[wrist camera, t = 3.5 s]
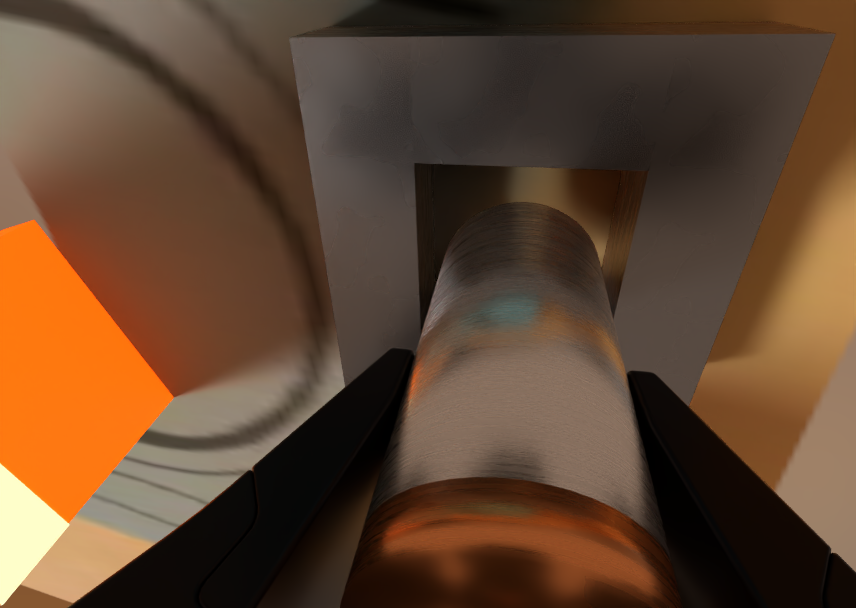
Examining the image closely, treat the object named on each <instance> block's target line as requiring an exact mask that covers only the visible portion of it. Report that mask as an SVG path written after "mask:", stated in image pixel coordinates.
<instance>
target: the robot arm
mask: <svg viewBox="0 0 856 608" xmlns="http://www.w3.org/2000/svg"><path fill="white" fill-rule="evenodd" d="M414 356H415V355H414V352H413V351H412V350H411V349H404V348H391V349H389V350H388V351H387V352H385V353H384V354H383V355H382V356H381V357H380V358H379V359H377V360H376V361H375V362H374V363H373V364H372V365H370V366H369V367H368V368H367V369H366V370H365V371H363V372H362V373H361V374H360V375H359V376H358V377H356V378H355V379H354V380H353V381H352V382H351V383H349V384H348V385H347V386H346V387H345V388H344V389H342V390H341V391H340V392H339V393H338V394H337V395H335V396H334V397H333V398H332V399H331V400H330V401H329V402H327V403H326V404H325V405H324V406H323V407H322V408H320V409H319V410H318V411H317V412H316V413H315V414H313V415H312V416H311V417H310V418H309V419H308V420H306V421H305V422H304V423H303V424H302V425H301V426H299V427H298V428H297V429H296V430H295V431H294V432H292V433H291V434H290V435H289V436H288V437H287V438H285V439H284V440H283V441H282V442H281V443H280V444H279V445H277V446H276V447H275V448H274V449H273V450H272V451H270V452H269V453H268V454H267V455H266V456H265V457H263V458H262V459H261V460H260V461H259V462H258V463H256V464H255V465H254V466H253V467H252V471H251V470H248V471H247V472H246V473H245V474H243V475H242V476H241V477H240V478H239V479H238V480H236V481H235V482H234V483H233V484H232V485H231V486H229V487H228V488H227V489H226V490H225V491H223V492H222V493H221V494H220V495H218V496H217V497H216V498H215V499H214V500H212V501H211V502H210V503H209V504H207V505H206V506H205V507H204V508H203V509H201V510H200V511H199V512H198V513H196V514H195V515H194V516H192V517H191V518H190V519H188V520H187V521H186V522H184V523H183V524H182V525H180V526H179V527H178V528H176V529H175V530H174V531H172V532H171V533H170V534H168V535H167V536H166V537H164V538H163V539H162V540H160V541H159V542H157V543H156V544H155V545H153V546H152V547H150V548H149V549H148V550H146V551H145V552H144V553H142V554H141V555H139V556H138V557H137V558H135V559H134V560H132V561H131V562H130V563H128V564H127V565H126V566H124V567H123V568H121V569H120V570H119V571H117V572H116V573H114V574H113V575H112V576H110V577H109V578H108V579H106V580H105V581H103V582H102V583H101V584H99V585H98V586H97V587H95V588H94V589H92V590H91V591H90V592H88V593H87V594H85V595H84V596H83V597H81V598H80V599H79V600H77V601H76V602H74V603H73V604H71V605H70V606H68V607H67V608H340V603H341V599H342V596H343V593H344V589H345V586H346V583H347V579H348V576H349V573H350V569H351V566H352V563H353V559H354V556H355V553H356V549H357V546H358V543H359V539H360V536H361V533H362V529H363V526H364V523H365V519H366V516H367V513H368V509H369V506H370V503H371V499H372V496H373V493H374V489H375V486H376V483H377V480H378V476H379V473H380V470H381V466H382V463H383V460H384V456H385V453H386V450H387V446H388V443H389V440H390V436H391V433H392V430H393V426H394V423H395V420H396V416H397V413H398V410H399V406H400V403H401V400H402V396H403V393H404V390H405V386H406V383H407V380H408V376H409V373H410V370H411V366H412V363H413V360H414ZM627 379H628V383H629V387H630V391H631V395H632V399H633V404H634V408H635V412H636V416H637V420H638V424H639V428H640V433H641V437H642V441H643V445H644V449H645V453H646V458H647V462H648V466H649V470H650V474H651V478H652V483H653V487H654V491H655V495H656V499H657V503H658V507H659V512H660V516H661V520H662V524H663V528H664V532H665V537H666V541H667V545H668V549H669V553H670V557H671V562H672V566H673V570H674V574H675V578H676V582H677V587H678V591H679V595H680V599H681V603H682V607H683V608H856V572H855V571H854V570H853V569H852V568H851V567H850V566H849V565H848V564H847V563H846V562H845V561H844V560H843V559H842V558H841V557H840V556H839V555H838V554H836V553H831V548H830V547H829V546H828V545H827V544H826V543H825V542H824V541H823V540H822V539H821V538H820V537H819V536H818V535H817V534H816V533H815V532H814V531H813V530H812V529H811V528H810V527H809V526H808V525H807V524H806V523H805V522H804V521H803V520H802V519H801V518H800V517H799V516H798V515H797V514H796V513H795V512H794V511H793V510H792V509H791V508H790V507H789V506H788V505H787V504H786V503H785V502H784V501H783V500H782V499H781V498H780V497H779V496H778V495H777V494H776V493H775V492H774V491H773V490H772V489H771V488H770V487H769V486H768V485H767V484H766V483H765V482H764V481H763V480H762V479H761V478H760V477H759V476H758V475H757V474H756V473H755V472H754V471H753V470H752V469H751V468H750V467H749V466H748V465H747V464H746V463H745V462H744V461H743V460H742V459H741V458H740V457H739V456H738V455H737V454H736V453H735V452H734V451H733V450H732V449H731V448H730V447H729V446H728V445H727V444H726V443H725V442H724V441H723V440H722V439H721V438H720V437H719V436H718V435H717V434H716V433H715V432H714V431H713V430H712V429H711V428H710V427H709V426H708V425H707V424H706V423H705V422H704V421H703V420H702V419H701V418H700V417H699V416H698V415H697V414H696V413H695V412H694V411H693V410H692V409H691V408H690V407H689V406H688V405H687V404H686V403H685V402H684V401H682V400H681V399H680V398H679V397H678V396H677V395H676V394H675V393H674V392H673V391H672V390H671V389H670V388H669V387H668V386H667V385H666V384H665V383H664V382H663V381H662V380H661V379H660V378H659V377H658V376H657V375H656V374H655V373H652V372H646V371H635V370H631V371H629V372H627Z"/></svg>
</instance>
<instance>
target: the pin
mask: <svg viewBox="0 0 856 608" xmlns="http://www.w3.org/2000/svg"><path fill="white" fill-rule="evenodd" d="M340 608H683V607H682V603H681V599H680V595H679V591H678V587H677V582H676V578H675V574H674V570H673V566H672V562H671V557H670V553H669V549H668V545H667V541H666V537H665V532H664V528H663V524H662V520H661V516H660V512H659V507H658V503H657V499H656V495H655V491H654V487H653V483H652V478H651V474H650V470H649V466H648V462H647V458H646V453H645V449H644V445H643V441H642V437H641V433H640V428H639V424H638V420H637V416H636V412H635V408H634V404H633V399H632V395H631V391H630V387H629V383H628V379H627V374H626V370H625V366H624V362H623V358H622V354H621V349H620V345H619V341H618V337H617V333H616V329H615V324H614V320H613V316H612V312H611V308H610V304H609V300H608V295H607V291H606V287H605V283H604V279H603V275H602V270H601V266H600V262H599V258H598V254H597V251H596V248H595V245H594V243H593V241H592V240H591V238H590V236H589V235H588V233H587V232H586V231H585V229H584V228H583V227H582V226H581V225H580V224H579V223H578V222H577V221H575V220H574V219H573V218H571V217H570V216H568V215H567V214H565V213H563V212H561V211H559V210H557V209H555V208H552V207H549V206H546V205H542V204H537V203H528V202H514V203H507V204H502V205H498V206H494V207H491V208H489V209H486V210H484V211H482V212H480V213H478V214H477V215H475V216H473V217H472V218H471V219H469V220H468V221H467V222H466V223H465V224H463V225H462V226H461V227H460V228H459V230H458V231H457V232H456V234H455V235H454V236H453V238H452V240H451V241H450V243H449V245H448V248H447V251H446V253H445V257H444V260H443V263H442V267H441V270H440V273H439V277H438V280H437V283H436V287H435V290H434V293H433V297H432V300H431V303H430V307H429V310H428V313H427V317H426V320H425V323H424V327H423V330H422V333H421V336H420V340H419V343H418V346H417V350H416V353H415V356H414V360H413V363H412V366H411V370H410V373H409V376H408V380H407V383H406V386H405V390H404V393H403V396H402V400H401V403H400V406H399V410H398V413H397V416H396V420H395V423H394V426H393V430H392V433H391V436H390V440H389V443H388V446H387V450H386V453H385V456H384V460H383V463H382V466H381V470H380V473H379V476H378V480H377V483H376V486H375V489H374V493H373V496H372V499H371V503H370V506H369V509H368V513H367V516H366V519H365V523H364V526H363V529H362V533H361V536H360V539H359V543H358V546H357V549H356V553H355V556H354V559H353V563H352V566H351V569H350V573H349V576H348V579H347V583H346V586H345V589H344V593H343V596H342V599H341V603H340Z"/></svg>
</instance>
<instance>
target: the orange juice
mask: <svg viewBox="0 0 856 608" xmlns="http://www.w3.org/2000/svg"><path fill="white" fill-rule="evenodd" d="M173 398H174V397H173V396H172V395H171V393H170V392H169V391H168V390H167V388H166V387H165V386H164V384H163V383H162V382H161V381H160V379H159V378H158V377H157V376H156V374H155V373H154V372H153V370H152V369H151V368H150V367H149V365H148V364H147V363H146V362H145V360H144V359H143V358H142V356H141V355H140V354H139V353H138V351H137V350H136V349H135V347H134V346H133V345H132V344H131V342H130V341H129V340H128V339H127V337H126V336H125V335H124V333H123V332H122V331H121V330H120V328H119V327H118V326H117V325H116V323H115V322H114V321H113V319H112V318H111V317H110V316H109V314H108V313H107V312H106V310H105V309H104V308H103V307H102V305H101V304H100V303H99V302H98V300H97V299H96V298H95V296H94V295H93V294H92V293H91V291H90V290H89V289H88V288H87V286H86V285H85V284H84V282H83V281H82V280H81V279H80V277H79V276H78V275H77V273H76V272H75V271H74V270H73V268H72V267H71V266H70V265H69V263H68V262H67V261H66V259H65V258H64V257H63V256H62V254H61V253H60V252H59V251H58V249H57V248H56V247H55V245H54V244H53V243H52V242H51V240H50V239H49V238H48V237H47V235H46V234H45V233H44V231H43V230H42V229H41V228H40V226H39V225H38V224H37V222H36V221H35V220H32V221H29V222H26V223H23V224H19V225H16V226H13V227H10V228H7V229H4V230H1V231H0V605H3V604H4V603H5V602H6V600H7V599H8V598H9V597H10V596H11V594H12V593H13V592H14V591H15V589H16V588H17V587H18V586H19V585H20V584H21V582H22V581H23V580H24V579H25V578H26V576H27V575H28V574H29V573H30V572H31V570H32V569H33V568H34V567H35V566H36V564H37V563H38V562H39V561H40V560H41V558H42V557H43V556H44V555H45V554H46V552H47V551H48V550H49V549H50V548H51V546H52V545H53V544H54V543H55V542H56V540H57V539H58V538H59V537H60V536H61V534H62V533H63V532H64V531H65V530H66V528H67V527H68V526H69V524H68V523H69V522H70V521H71V520H72V519H73V517H74V516H75V515H76V514H77V513H78V511H79V510H80V509H81V508H82V507H83V505H84V504H85V503H86V502H87V501H88V500H89V498H90V497H91V496H92V495H93V494H94V492H95V491H96V490H97V489H98V488H99V486H100V485H101V484H102V483H103V482H104V480H105V479H106V478H107V477H108V476H109V474H110V473H111V472H112V471H113V470H114V468H115V467H116V466H117V465H118V464H119V462H120V461H121V460H122V459H123V458H124V457H125V455H126V454H127V453H128V452H129V451H130V449H131V448H132V447H133V446H134V445H135V443H136V442H137V441H138V440H139V439H140V437H141V436H142V435H143V434H144V433H145V431H146V430H147V429H148V428H149V427H150V425H151V424H152V423H153V422H154V421H155V419H156V418H157V417H158V416H159V415H160V414H161V412H162V411H163V410H164V409H165V408H166V406H167V405H168V404H169V403H170V402H171V400H172V399H173Z"/></svg>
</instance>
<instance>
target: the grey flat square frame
mask: <svg viewBox="0 0 856 608" xmlns="http://www.w3.org/2000/svg"><path fill="white" fill-rule="evenodd" d="M835 35H836V34H835V33H830V32H825V31H820V30H815V29H810V28H805V27H800V26H795V25H790V24H785V23H780V22H706V23H613V24H520V25H427V26H334V27H327V28H323V29H319V30H315V31H312V32H308V33H304V34H300V35H297V36H293V37H289V40H290V46H291V53H292V59H293V65H294V71H295V78H296V84H297V90H298V96H299V102H300V109H301V115H302V121H303V127H304V133H305V140H306V146H307V152H308V158H309V164H310V171H311V177H312V183H313V189H314V195H315V202H316V208H317V214H318V220H319V226H320V233H321V239H322V245H323V251H324V258H325V264H326V270H327V276H328V282H329V289H330V295H331V301H332V307H333V313H334V320H335V326H336V332H337V338H338V344H339V351H340V357H341V363H342V369H343V375H344V382H345V387H346V386H347V385H348V384H349V383H351V382H352V381H353V380H354V379H355V378H356V377H358V376H359V375H360V374H361V373H362V372H363V371H365V370H366V369H367V368H368V367H369V366H370V365H372V364H373V363H374V362H375V361H376V360H377V359H379V358H380V357H381V356H382V355H383V354H384V353H385V352H387V351H388V350H389V349H391V348H404V349H411V350H412V351H413V352H414V355H415V353H416V350H417V346H418V343H419V340H420V336H421V333H422V330H423V327H424V323H425V320H426V317H427V313H428V310H429V307H430V303H431V300H432V297H433V293H434V290H435V268H434V209H433V164H454V165H484V166H513V167H543V168H573V169H602V170H622V173H621V178H620V183H619V188H618V192H617V197H616V202H615V207H614V212H613V217H612V222H611V226H610V231H609V236H608V241H607V246H606V251H605V255H604V260H603V265H602V275H603V279H604V283H605V287H606V291H607V295H608V300H609V304H610V308H611V312H612V316H613V320H614V324H615V329H616V333H617V337H618V341H619V345H620V349H621V354H622V358H623V362H624V366H625V370H626V374H627V372H629V371H631V370H635V371H646V372H652V373H655V374H656V375H657V376H658V377H659V378H660V379H661V380H662V381H663V382H664V383H665V384H666V385H667V386H668V387H669V388H670V389H671V390H672V391H673V392H674V393H675V394H676V395H677V396H678V397H679V398H680V399H681V400H682V401H684V402H685V403H686V404H687V405H688V406H689V404H690V402H691V399H692V397H693V394H694V392H695V389H696V387H697V384H698V382H699V379H700V377H701V374H702V371H703V369H704V366H705V364H706V361H707V359H708V356H709V354H710V351H711V349H712V346H713V344H714V341H715V339H716V336H717V333H718V331H719V328H720V326H721V323H722V321H723V318H724V316H725V313H726V311H727V308H728V306H729V303H730V301H731V298H732V296H733V293H734V290H735V288H736V285H737V283H738V280H739V278H740V275H741V273H742V270H743V268H744V265H745V263H746V260H747V258H748V255H749V252H750V250H751V247H752V245H753V242H754V240H755V237H756V235H757V232H758V230H759V227H760V225H761V222H762V220H763V217H764V214H765V212H766V209H767V207H768V204H769V202H770V199H771V197H772V194H773V192H774V189H775V187H776V184H777V182H778V179H779V176H780V174H781V171H782V169H783V166H784V164H785V161H786V159H787V156H788V154H789V151H790V149H791V146H792V144H793V141H794V138H795V136H796V133H797V131H798V128H799V126H800V123H801V121H802V118H803V116H804V113H805V111H806V108H807V106H808V103H809V100H810V98H811V95H812V93H813V90H814V88H815V85H816V83H817V80H818V78H819V75H820V73H821V70H822V68H823V65H824V62H825V60H826V57H827V55H828V52H829V50H830V47H831V45H832V42H833V40H834V37H835Z"/></svg>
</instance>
